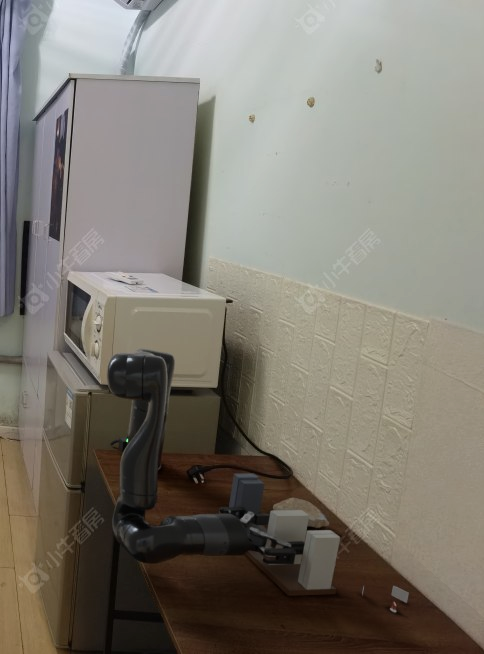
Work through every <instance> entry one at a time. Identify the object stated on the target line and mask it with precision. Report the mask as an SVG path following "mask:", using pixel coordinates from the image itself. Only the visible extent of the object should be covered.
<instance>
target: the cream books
mask: <svg viewBox="0 0 484 654" xmlns="http://www.w3.org/2000/svg"><path fill="white" fill-rule="evenodd" d="M340 542H341V537H340V536H339V535H338V534H336V533H335V532H334V531H333V530H331V529H324V530H323V529H321V530H320V529H319V530H317V529H315V530H307V531H306V536H305V545H304V550H303V555H302V558H301V559H302V561H301V567H300V572H299V578H298V582H299V583H300V584H301V585H303V587H305V588H306V589H307V590H311V589H330V588H331V585H332V582H333V578H334V571H335V566H336V562H337V556H338V552H339V546H340Z"/></svg>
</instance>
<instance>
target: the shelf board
mask: <svg viewBox="0 0 484 654" xmlns="http://www.w3.org/2000/svg"><path fill="white" fill-rule="evenodd" d="M258 527H259V529H261V530H262V531H264V532H265V533H267V530H268V528H266V527H265V525H258ZM244 555H245V556H246V557H247V558H248V559H249V560H250V561H252V562H253V563H254V565H256V566H257V567H258V569H260V570H261V571H262V572H263V573H264V574H265V575H266V576H267V577H268V578H269V579H270V580H271V581H272V582H273V583H274V584H275V585H277V587H278V588H280V590H281V591H282V592H283V593H285V594H286V595H287V597H296V596H297V597H298V596H321V595H323V596H324V595H336V593H337V588H336V586H334V585H333V584H331V588H330V589H311V590H307V589H306V588H305V587H303V585H301V584H300V583H299V582H298V578H299V572H300V567H301V564H286V565H269V564H267V563H265V562H263V556H262V555H261V554H260V553H259V552H255V551H247V552H246V553H244ZM301 561H302V558H301Z"/></svg>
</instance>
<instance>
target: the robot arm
mask: <svg viewBox="0 0 484 654" xmlns="http://www.w3.org/2000/svg"><path fill="white" fill-rule="evenodd" d="M175 367H176V359H175V357H174V355H173V354H171V353H170V352H164V351H158V350H154V349H153V350H152V349H148V348H138V349H136V350H135V351H134V352H131V353H129V352H118V353H116V354H114V355H112V357H111V359H110V361H109V362H108V364H107V368H106V383H107V386H108V389H109V391H110V393H111V394H112V395H113V396H115V397H117V398H120V399H124V400H131V407H130V416H129V418H130V419H129V423H128V425H127V431H126V437H119V438H118V439H113V440H112V441H111V442H110V443H109V444H110V446H113V445H115V444H116V443H118V449H119V451H121V452H122V454H121V457H120V461H119V462H120V463H119V477H118V478H119V484H118V485H119V486H118V490H119V491H118V492H119V493H118V496H117V499H116V503H115V506H114V510H113V514H112V519H111V526H112V527H111V528H112V533H113V536H114V538H115V540H116V541H117V543H118V544H119V545H120V546H121V547H122V548H123V549H124V550H125V551H126V552H127V553H128V554H129V555H130V556H131V557H132V558H133V559H134V560H136V561H138V562H139V563H142V564H147V565H155V564H161V563H164V562H166V561H170V560H173V559H175V558H177V557H180V556H203V557H228V556H229V557H230V556H232V557H233V556H243V555H245V553H246V552H247V551H255V552H259V553H260V554H261V555H262V556H263V562H265V563H267V564H294V561H295V555H302V556H303V550H304V545H305V542H303V541H292V542H285V541H282V540H279V539H277V538H276V536H274V535H271V534H268V533H265V532H264V531H262V530H261V529H259V527H258V526H257V525H263V526H268V524H269V518H270V513H264V512H263V513H262V512H260V513H253V512H250V511H248V512H247V511H246V510H245V508H244V507H242V506H235V507H229V506H220V507H219V511H218V513H198V514H197V513H196V514H192V515H171V516H165V517H164V518H162V519H161V520H160V522H159V525H152V524H151V523H149V521H148V520H146V512H147V511H151V510H153V509H155V508H156V506H157V503H158V491H159V489H158V488H159V487H158V486H159V483H158V481H159V471H160V470H161V469H162V459H163V458H162V457H163V453H164V452H163V451H164V444H165V438H166V437H165V435H166V430H167V421H168V413H169V404H170V396H171V395H170V394H171V389H172V385H173V378H174V374H175ZM237 512H238V514H236V513H237ZM267 539H269V540H271V544H270V547H265V545H266V543H267ZM276 545H280V546H283V548H276ZM284 556H285V557H284Z"/></svg>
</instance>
